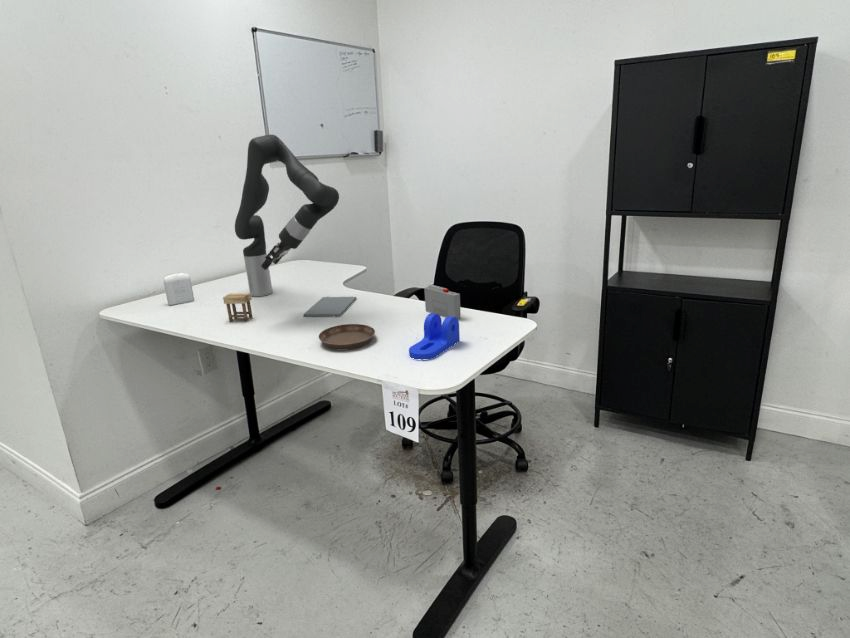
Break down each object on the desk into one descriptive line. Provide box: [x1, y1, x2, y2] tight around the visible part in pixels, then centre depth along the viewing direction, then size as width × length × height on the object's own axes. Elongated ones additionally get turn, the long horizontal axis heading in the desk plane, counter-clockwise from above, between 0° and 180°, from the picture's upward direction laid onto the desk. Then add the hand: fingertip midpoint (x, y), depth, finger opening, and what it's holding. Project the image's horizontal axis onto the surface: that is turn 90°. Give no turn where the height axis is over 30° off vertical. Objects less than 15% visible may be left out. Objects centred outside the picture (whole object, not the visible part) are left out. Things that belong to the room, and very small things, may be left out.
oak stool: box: [222, 292, 253, 323], centre depth 191 cm, size 5×8×9 cm, turn 81°
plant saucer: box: [318, 323, 376, 351], centre depth 165 cm, size 18×18×3 cm
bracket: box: [408, 313, 461, 360], centre depth 154 cm, size 18×8×9 cm, turn 147°
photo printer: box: [163, 272, 195, 306], centre depth 217 cm, size 10×4×12 cm, turn 123°
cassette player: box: [423, 284, 462, 320], centre depth 184 cm, size 16×3×10 cm, turn 40°
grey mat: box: [302, 296, 357, 318], centre depth 201 cm, size 22×14×1 cm, turn 171°
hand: (268, 265), depth 184 cm, fingers open, 8 cm apart
